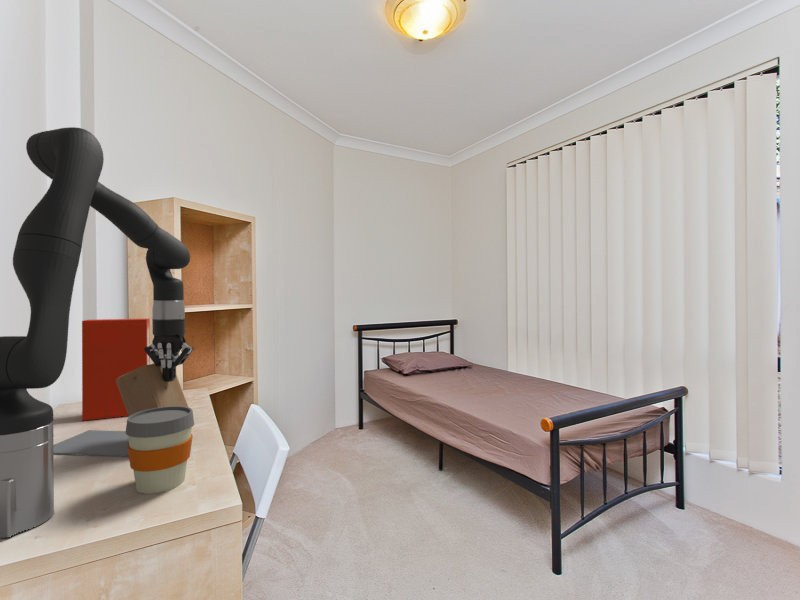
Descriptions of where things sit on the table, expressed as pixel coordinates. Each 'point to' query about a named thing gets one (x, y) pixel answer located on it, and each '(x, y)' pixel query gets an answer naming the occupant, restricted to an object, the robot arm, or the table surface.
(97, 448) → the mat
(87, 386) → the file binder
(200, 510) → the table surface
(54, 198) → the robot arm
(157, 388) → the wooden block
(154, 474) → the reusable coffee cup
